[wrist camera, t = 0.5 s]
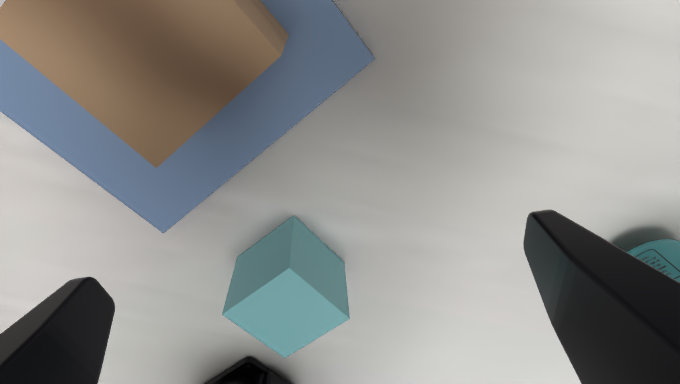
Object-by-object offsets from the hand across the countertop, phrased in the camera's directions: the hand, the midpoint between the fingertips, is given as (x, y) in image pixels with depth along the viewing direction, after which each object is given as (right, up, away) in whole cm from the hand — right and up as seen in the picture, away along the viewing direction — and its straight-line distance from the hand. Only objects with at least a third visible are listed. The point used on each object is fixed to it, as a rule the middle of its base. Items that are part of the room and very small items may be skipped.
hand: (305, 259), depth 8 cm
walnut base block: (-7, +9, +10) cm, 15 cm away
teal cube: (-3, -3, +18) cm, 19 cm away
